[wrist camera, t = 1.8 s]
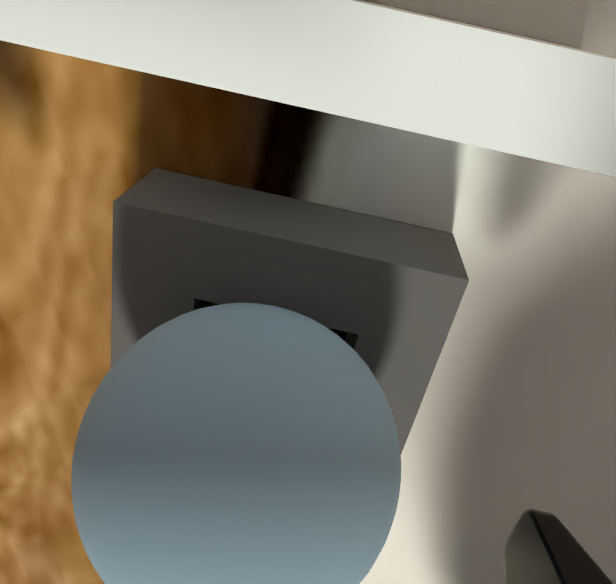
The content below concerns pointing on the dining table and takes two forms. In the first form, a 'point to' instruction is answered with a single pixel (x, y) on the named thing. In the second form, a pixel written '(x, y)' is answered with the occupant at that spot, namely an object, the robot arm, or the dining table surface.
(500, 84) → the divider wall
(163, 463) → the ball
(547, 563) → the robot arm
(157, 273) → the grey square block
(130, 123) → the dining table surface
